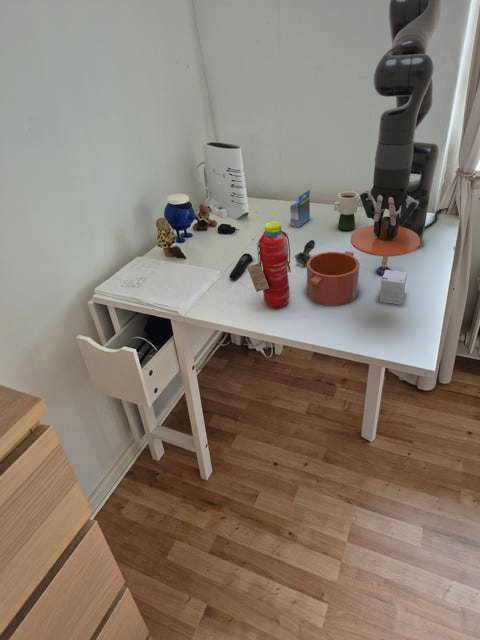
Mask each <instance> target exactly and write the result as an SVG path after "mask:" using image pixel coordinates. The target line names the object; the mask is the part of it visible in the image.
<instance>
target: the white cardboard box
mask: <svg viewBox="0 0 480 640" xmlns="http://www.w3.org/2000/svg"><path fill="white" fill-rule="evenodd" d="M407 276H408V272H406V271H398V270H391V269H390V270H385V272H384V275H382V278H381V279H380V291H379V302H380V303H385V304H394V305H399V306H401V305H402V303H403V300H404V295H405V292H406V285H407V284H406V283H407Z"/></svg>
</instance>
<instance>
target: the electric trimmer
mask: <svg viewBox="0 0 480 640" xmlns="http://www.w3.org/2000/svg"><path fill="white" fill-rule="evenodd" d="M252 261H253V256H252V254H250V253H247V252H246V253H243V254H242V255H241V256H240V258H239V259H238V261H237V262H236V264H235V266H234V268H233V269H232V270H231V272H230V274H229V276H228V278H229V279H234V280H236V279H237V278H238V277H240V276H241V275H242V274H243V273H244V272H245V268H246V267H247V265H248V264H249V262H252Z"/></svg>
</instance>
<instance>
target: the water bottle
mask: <svg viewBox="0 0 480 640" xmlns="http://www.w3.org/2000/svg"><path fill="white" fill-rule="evenodd" d="M256 247H257V249H256V250H257V262H258V263H255V264H252V265H250V266H246V269H247V272H248V274H249V276H250V279H251V282H252V284H253V287H254V290H255V292H256V293H258V292H261V291H263V300H264V302H265V304H267V306H269V307H270V308H275V309H279V308H282V307H285V306H286V304H287V303H288V301H289V299H290V283H289V275H288V273H291V271H292V270H291V265H290V263H291V247H290V239H289V236H288V234H287V233H286V231H284V230H282V224H281V222H279V221H277V220H273V221H268V222H266V223H265V224H264V231H263V233H262V234H261V237H260V238H259V239H258V241H257V243H256Z"/></svg>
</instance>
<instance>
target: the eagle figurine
mask: <svg viewBox="0 0 480 640" xmlns="http://www.w3.org/2000/svg"><path fill="white" fill-rule="evenodd" d="M315 246H316V241H315V240H314V239H310V240H309V241H308V242H306V244H304V246H303V251H300V252H298V253H296V254H295V255H294V258H295V259H299V258H300V259H301V261H300V262H301V263H303V267H304V268H305V267H306V266H307V262H308V260H309V259H310V258H311V257H313V256H315V255H316V254H313V256H310V252H312V250H313V249H314V248H315Z"/></svg>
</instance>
